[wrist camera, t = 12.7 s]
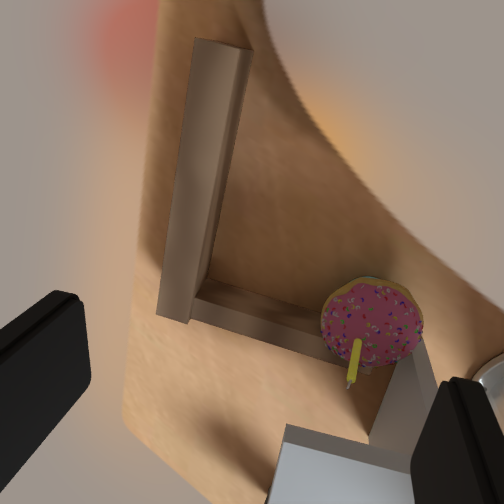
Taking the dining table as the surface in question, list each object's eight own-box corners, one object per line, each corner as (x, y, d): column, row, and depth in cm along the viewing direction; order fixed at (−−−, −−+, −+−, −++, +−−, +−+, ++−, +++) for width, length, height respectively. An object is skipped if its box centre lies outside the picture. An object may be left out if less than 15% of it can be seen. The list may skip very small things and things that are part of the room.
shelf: (423, 338, 39) (468, 490, 25) (381, 440, 46) (399, 602, 32) (302, 312, 40) (283, 441, 27) (279, 414, 47) (255, 559, 33)
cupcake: (332, 337, 41) (329, 433, 30) (313, 265, 38) (302, 345, 27) (420, 326, 38) (451, 427, 28) (407, 248, 35) (436, 329, 25)
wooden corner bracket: (481, 110, 30) (506, 119, 25) (366, 348, 41) (370, 383, 36) (215, 40, 31) (194, 37, 27) (175, 287, 42) (155, 314, 38)
